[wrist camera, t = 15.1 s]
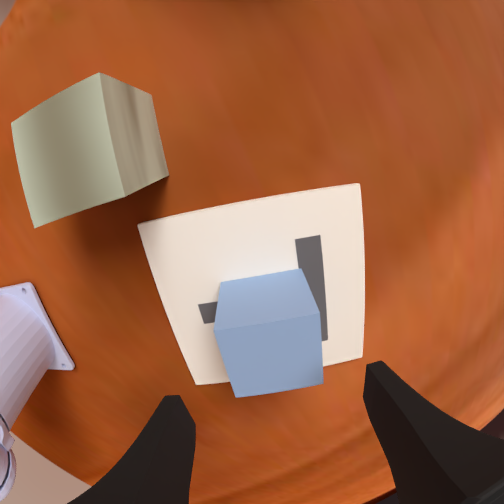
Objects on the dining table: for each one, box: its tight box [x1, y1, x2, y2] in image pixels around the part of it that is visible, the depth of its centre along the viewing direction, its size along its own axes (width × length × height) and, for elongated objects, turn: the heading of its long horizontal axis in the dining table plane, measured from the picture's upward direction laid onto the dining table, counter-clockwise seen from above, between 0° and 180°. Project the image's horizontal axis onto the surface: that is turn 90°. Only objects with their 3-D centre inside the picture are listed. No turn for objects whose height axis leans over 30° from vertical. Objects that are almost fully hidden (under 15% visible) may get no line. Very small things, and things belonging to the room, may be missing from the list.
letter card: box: [137, 183, 365, 385], centre depth 17 cm, size 12×12×1 cm
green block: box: [11, 72, 169, 228], centre depth 11 cm, size 4×4×6 cm
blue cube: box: [213, 268, 323, 398], centre depth 15 cm, size 4×4×4 cm
